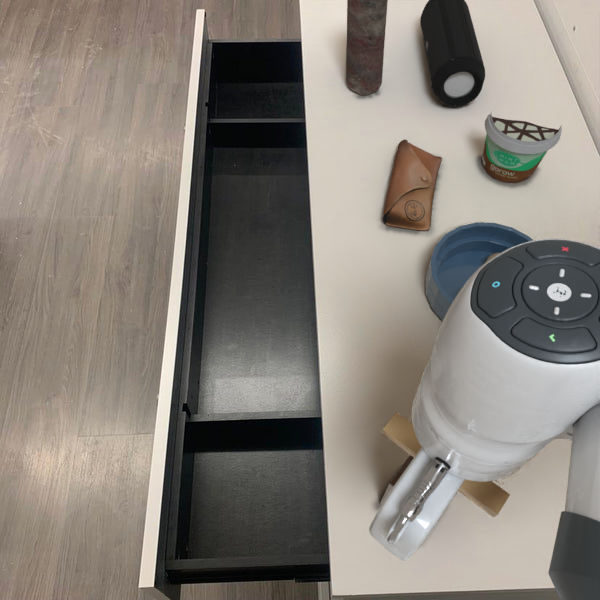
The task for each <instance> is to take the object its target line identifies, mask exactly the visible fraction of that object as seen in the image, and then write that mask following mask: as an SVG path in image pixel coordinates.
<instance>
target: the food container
mask: <svg viewBox="0 0 600 600" xmlns="http://www.w3.org/2000/svg"><path fill="white" fill-rule="evenodd" d="M492 114H493V111H491V112H490V114H488V115H487V117H486V118H485V120H484V130H485V132H486V135H485V141H484V145H483V151H482V156H481V165H482V168H483V170H484V171H485V173H486V174H487V175H488V176H489V177H491V178H492V179H494V180H495V181H498V182H501V183H504V184H519V183H523V182H525V181H527V180H529V179H530V178H531V177H532V176H533V175H534V173H535V171H536V170H537V168H538V167H539V165H540V164H541V162H542V160H543V159H544V157H545V156H546V154H547V153H548V151H550V150H551V149H553V147H555V146H556V145H557V144H558V143H559V141H560V140H561V136H562V131H563V128H562V126H563V125H562V124H561V125H560V127H559V128H551V127H545V126H542V125H538V124H535V123H532V122H530V121H525V120H518V119H517V120H515V119H505V118H500V117H495V116H493V115H492Z"/></svg>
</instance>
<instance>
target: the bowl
mask: <svg viewBox="0 0 600 600" xmlns="http://www.w3.org/2000/svg"><path fill="white" fill-rule="evenodd" d="M534 240H535V239H533V238H532V237H531V236H529V235H528V234H526V233H523V232H522V231H520V230H518V229H516V228H514V227H512V226H508V225H505V224H501V223H497V222H482V221H481V222H479V221H478V222H477V221H476V222H472V223H467V224H463V225H459V226H457V227H455V228H454V229H452V230H450V231H448V232H446V233H445V234H444V235H443V236H442V237H441V238H440V239H439V241H438V242H437V243H436V244H435V246H434V248H433V251H432V254H431V257H430V261H429V264H428V268H427V271H426V274H425V278H424V286H425V287H424V288H425V296H426V298H427V300H428V303H429V305H430V307H431V309H432V311H433V312H434V313H435V314H436V315H437V316H438V317H439V319H441V321H442V322H443V320H444V318H445V316H446V314H447V312H448V310H449V308H450V306H451V304H452V302H453V301H454V299H455V297H456V296H457V294H458V293H459V291H460V290H461V289H462V287H463V286H464V285H465V283H466V282H467V281H468V279H469V278H470V277H471V276H472V275H473V274H474V273H475V272H476V270H477V269H478V268H480V267H481V266H482V265H483V264H484V263H485V262H486V260H487V258H488V257H489V256H490V255H492V254H494V253H501V252H503V251H505V250H507V249H509V248H511V247H513V246H516V245H519V244H522V243H525V242H529V241H534Z"/></svg>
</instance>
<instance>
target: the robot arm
mask: <svg viewBox="0 0 600 600" xmlns="http://www.w3.org/2000/svg"><path fill="white" fill-rule="evenodd" d="M533 240H534V241H529V242H525V243H522V244H519V245H516V246H513V247H511V248H509V249H507V250H505V251H503V252H501V253H499V254H498V255H496V256H494V257H493V258H491V259H490V260H488V261H487V262H486V263H484V264H483V265H482V266H481V267H480V268H478V269H477V270H476V272H475V273H474V274H473V275H472V276H471V277H470V278H469V279H468V281H467V282H466V283H465V285H464V286H463V287H462V289H461V290H460V291H459V293H458V294H457V296H456V297H455V299H454V301H453V302H452V304H451V306H450V308H449V310H448V312H447V314H446V316H445V318H444V320H443V321H442V322H441V324H440V325H439V329H438V332H437V334H436V337H435V340H434V342H433V345H432V350H431V354H430V359H429V360H428V362H427V364H426V366H425V368H424V370H423V372H422V376H421V378H420V381H419V384H418V387H417V390H416V391H415V395H414V398H413V401H412V405H411V423H412V424H413V428H414V432H415V434H416V437H417V439H418V441H419V443H420V445H421V449H420V450H419V451H418V453H417V454H416V456H415V457H414V458H413V460H412V461H411V463H410V464H409V465H408V467H407V468H406V470H405V471H404V473H403V474H402V475H401V477H400V478H399V480H398V481H397V482H396V484H395V485H394V487H393V488H392V489H391V491H390V492H389V494H388V495H387V497H386V498H385V500H384V501H383V503H382V505H380V506H379V508H378V509H377V512H376V513H375V516H374V517H373V519H372V521H371V522H370V524H369V528H368V531H369V534H370V536H371V537H372V538H373V539H374V540H375V541H376V542H378V544H380V545H381V546H383V548H384V549H386V550H387V551H388V552H389V553H390V554H392V555H393V556H394V557H395V558H397V559H399V560H400V561H403V562H406V561H408V560H409V559H410V558H411V557H412V556H413V555H414V554H415V553H416V551H417V550H418V549H419V548H420V547H421V545H422V544H423V543H424V541H426V539H427V538H428V536H429V535H430V534H431V532H432V531H433V529H434V528H435V527H436V525H437V523H438V522H439V521H440V520H441V518H442V516H443V515H444V514H445V512H446V511H447V509H448V508H449V506H450V505H451V503H452V501H453V500H454V498H455V497H456V495H457V494H456V493H458V492H459V491H458V490H459V488H460V487H461V485H462V484H463V482H464V481H465V479H466V480H471V481H479V482H487V481H492V482H495V481H499V480H502V479H505V478H507V477H509V476H512V475H513V474H515V473H516V472H517V471H519V470H520V469H521V468H523V466H525V465H526V464H527V463H529V461H531V460H532V459H533V458H535V457H536V456H537V455H538V454H539V453H540V452H541V451H543V450H544V449H545V448H546V447H547V446H548V445H549V444H550V443H552V442H553V441H555V440H560V439H561V440H562V439H564V440H568V441H571V446H570V457H569V466H568V476H567V484H566V495H565V504H564V510H563V511H561V512H560V516H559V521H558V525H557V529H556V534H555V540H554V544H553V548H552V549H553V550H552V554H551V559H550V563H549V568H548V576H549V578H550V580H551V582H552V584H553V585H552V586H553V587H554V589H555V591H556V593H557V596H558V597H559V599H560V600H600V247H598V246H595V245H592V244H590V243H586V242H581V241H577V240H572V239H565V238H541V239H533ZM457 491H458V492H457ZM454 496H455V497H454ZM452 499H453V500H452ZM450 502H451V503H450ZM448 505H449V506H448ZM446 508H447V509H446ZM444 511H445V512H444ZM442 514H443V515H442ZM440 517H441V518H440ZM439 519H440V520H439ZM438 520H439V521H438Z"/></svg>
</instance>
